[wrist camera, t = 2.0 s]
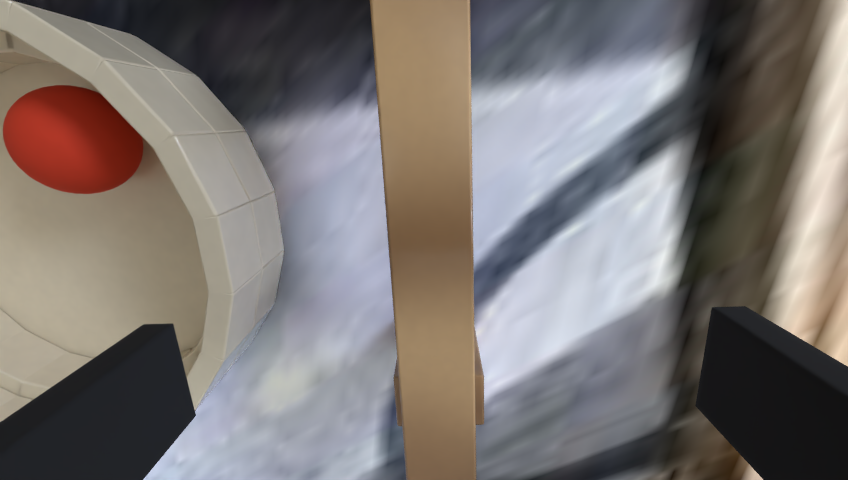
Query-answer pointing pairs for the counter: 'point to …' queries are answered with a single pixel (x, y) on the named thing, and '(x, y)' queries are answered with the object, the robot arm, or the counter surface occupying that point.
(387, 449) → the counter surface
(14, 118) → the tomato
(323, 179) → the counter surface
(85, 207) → the bowl
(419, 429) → the ladle
